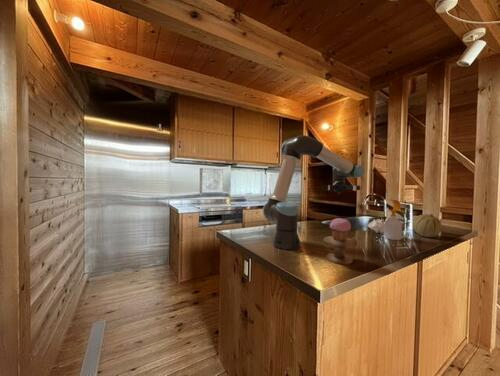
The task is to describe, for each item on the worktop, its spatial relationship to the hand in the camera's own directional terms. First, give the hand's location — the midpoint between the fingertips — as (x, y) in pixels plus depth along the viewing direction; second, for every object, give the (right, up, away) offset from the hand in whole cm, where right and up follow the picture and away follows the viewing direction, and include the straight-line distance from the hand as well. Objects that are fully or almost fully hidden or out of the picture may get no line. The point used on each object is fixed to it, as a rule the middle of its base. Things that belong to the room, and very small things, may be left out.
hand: (342, 187), depth 120 cm
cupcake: (-10, -24, -22) cm, 34 cm away
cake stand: (-11, -33, -22) cm, 41 cm away
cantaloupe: (+63, -32, +20) cm, 74 cm away
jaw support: (+41, -32, +34) cm, 61 cm away
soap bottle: (+39, -32, +16) cm, 53 cm away
